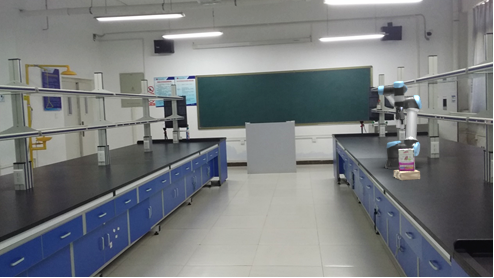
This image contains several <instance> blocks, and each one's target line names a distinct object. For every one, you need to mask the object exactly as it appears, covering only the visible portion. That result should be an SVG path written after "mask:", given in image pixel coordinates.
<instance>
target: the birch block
mask: <svg viewBox="0 0 494 278" xmlns="http://www.w3.org/2000/svg"><path fill="white" fill-rule="evenodd" d="M394 177H395V178H394ZM393 178H394V179H398V180H400V181H410V180H412V181H413V180H421V171H419V170H417V169H415V171H399V169H393Z"/></svg>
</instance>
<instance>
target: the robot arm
mask: <svg viewBox="0 0 494 278" xmlns="http://www.w3.org/2000/svg"><path fill="white" fill-rule="evenodd" d="M407 92H408V86H407V85H406V84H405V82H404V81H403V80H401V81H400V80H399V81H394V82H393V84H388V85H379V86H378V87H377V93H378V95H379V96H384V97H385V99H387V101H389V104H390V106H391V107H393V108H395V116H394V119H395V125H396V126H395V128H396V129H400V130H402V129H403V130H404V129H405V138H404V139H403V142H402V141H400V140H395V141H389V142H387V143H386V163H385V165H384V166H385V169H387V168H388V169H387V170H399V157H398V150H399V149H414V157H417V156H419V154H420V150H421V143H420V142H419V140H418V139H417V134H418V133H417V131H418V130H417V129H418V114H419V112H420V110H421V109H422V108H423V105H422V99H421V97H420V96H419V95H405V94H406V93H407ZM404 111H405V112H406V118H405V112H404ZM405 119H406V123H405Z"/></svg>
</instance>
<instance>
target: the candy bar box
mask: <svg viewBox="0 0 494 278" xmlns="http://www.w3.org/2000/svg"><path fill="white" fill-rule="evenodd" d="M398 157H399V169H398V170H399V171H415V170H416V164H415V163H416V162H415V156H414V149H399V150H398Z"/></svg>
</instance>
